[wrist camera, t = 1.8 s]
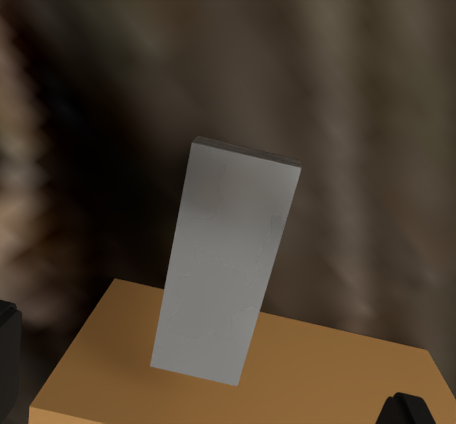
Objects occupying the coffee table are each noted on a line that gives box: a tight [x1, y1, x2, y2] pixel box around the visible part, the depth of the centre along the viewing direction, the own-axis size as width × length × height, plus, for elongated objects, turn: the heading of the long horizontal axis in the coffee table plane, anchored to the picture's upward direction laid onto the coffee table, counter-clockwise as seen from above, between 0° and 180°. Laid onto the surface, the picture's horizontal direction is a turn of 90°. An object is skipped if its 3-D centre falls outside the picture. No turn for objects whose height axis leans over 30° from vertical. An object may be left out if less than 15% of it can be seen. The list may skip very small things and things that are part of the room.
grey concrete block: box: [150, 136, 301, 386], centre depth 19 cm, size 9×4×9 cm, turn 168°
